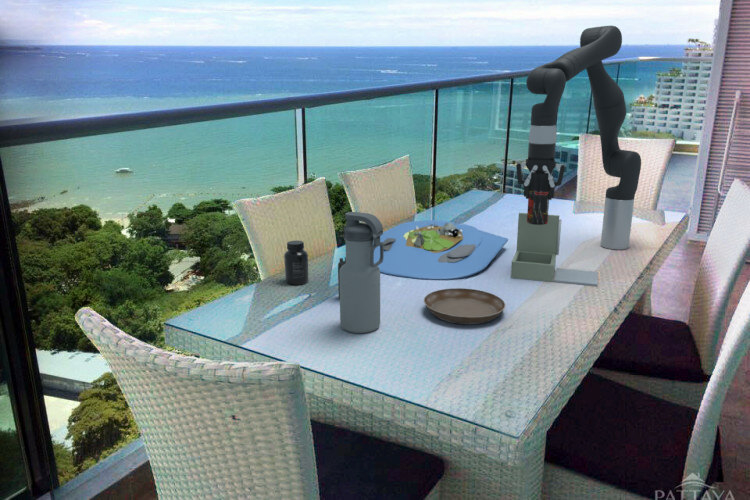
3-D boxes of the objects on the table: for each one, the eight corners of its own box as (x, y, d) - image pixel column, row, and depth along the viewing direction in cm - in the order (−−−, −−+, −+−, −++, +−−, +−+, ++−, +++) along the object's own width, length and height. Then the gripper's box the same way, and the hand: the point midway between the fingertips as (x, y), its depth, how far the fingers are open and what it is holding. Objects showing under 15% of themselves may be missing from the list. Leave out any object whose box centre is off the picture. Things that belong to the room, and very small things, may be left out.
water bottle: (388, 322, 157) (388, 211, 149) (371, 337, 148) (370, 221, 141) (351, 316, 161) (349, 208, 153) (333, 330, 153) (330, 216, 145)
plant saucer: (486, 296, 175) (487, 284, 174) (518, 325, 156) (519, 312, 155) (414, 302, 171) (414, 290, 170) (437, 332, 152) (438, 319, 151)
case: (515, 265, 201) (519, 212, 196) (557, 268, 197) (562, 215, 192) (510, 277, 189) (514, 222, 184) (555, 282, 185) (559, 225, 180)
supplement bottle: (312, 279, 188) (311, 240, 185) (302, 286, 182) (301, 246, 179) (291, 276, 191) (290, 238, 187) (281, 284, 184) (279, 244, 181)
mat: (556, 269, 196) (556, 267, 196) (597, 273, 192) (597, 271, 192) (554, 282, 185) (554, 280, 185) (597, 286, 182) (597, 284, 181)
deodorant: (548, 225, 185) (551, 174, 180) (527, 224, 186) (530, 173, 182) (546, 220, 190) (550, 170, 186) (526, 219, 192) (529, 170, 187)
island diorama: (463, 305, 182) (462, 266, 177) (337, 279, 203) (334, 243, 198) (515, 247, 217) (516, 213, 212) (403, 230, 238) (402, 198, 233)
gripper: (569, 140, 182) (564, 197, 187) (518, 138, 187) (515, 195, 192) (567, 143, 176) (563, 203, 181) (515, 142, 180) (512, 200, 185)
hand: (538, 198), depth 186 cm, fingers closed on deodorant, 6 cm apart
